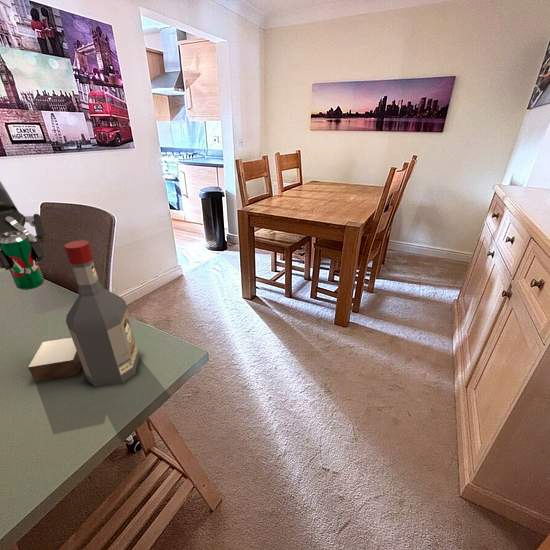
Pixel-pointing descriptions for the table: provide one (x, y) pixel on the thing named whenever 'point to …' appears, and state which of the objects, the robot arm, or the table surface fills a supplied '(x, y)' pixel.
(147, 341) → the table surface
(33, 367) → the stand
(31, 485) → the table surface
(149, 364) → the table surface
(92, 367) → the liquor
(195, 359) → the table surface
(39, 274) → the soda can
